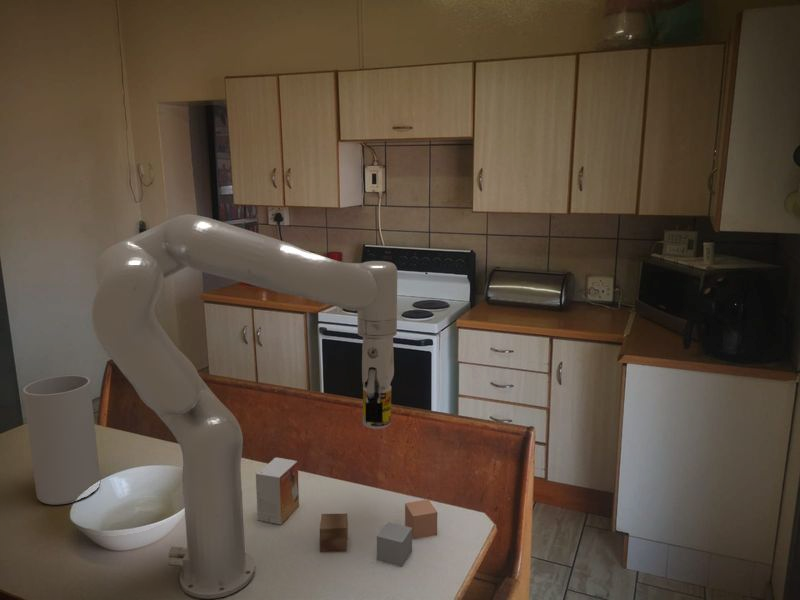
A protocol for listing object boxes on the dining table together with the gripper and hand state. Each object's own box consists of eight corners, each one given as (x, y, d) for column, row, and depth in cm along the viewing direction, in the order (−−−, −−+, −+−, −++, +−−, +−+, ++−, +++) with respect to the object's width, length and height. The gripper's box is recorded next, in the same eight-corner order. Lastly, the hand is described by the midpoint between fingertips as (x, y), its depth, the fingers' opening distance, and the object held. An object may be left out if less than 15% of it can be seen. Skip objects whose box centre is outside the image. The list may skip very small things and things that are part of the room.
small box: (281, 525, 122) (279, 477, 120) (257, 520, 124) (254, 473, 122) (300, 505, 130) (298, 460, 127) (277, 501, 131) (275, 456, 129)
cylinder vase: (101, 498, 132) (89, 389, 127) (35, 512, 127) (20, 399, 122) (100, 473, 143) (89, 372, 138) (39, 485, 138) (25, 380, 133)
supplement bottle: (371, 432, 116) (372, 381, 114) (357, 422, 120) (357, 373, 118) (396, 426, 119) (397, 376, 117) (381, 417, 123) (381, 368, 121)
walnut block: (320, 552, 114) (319, 528, 113) (322, 537, 119) (321, 513, 118) (346, 552, 114) (346, 528, 113) (347, 536, 119) (347, 513, 118)
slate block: (376, 560, 111) (376, 536, 110) (387, 545, 116) (387, 522, 115) (401, 567, 110) (402, 542, 109) (412, 551, 114) (412, 527, 113)
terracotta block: (412, 539, 118) (413, 516, 117) (404, 525, 123) (405, 503, 122) (437, 535, 119) (437, 512, 118) (428, 521, 124) (428, 499, 123)
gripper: (390, 338, 107) (389, 434, 110) (402, 317, 124) (401, 401, 127) (348, 336, 108) (348, 432, 111) (366, 315, 125) (366, 398, 128)
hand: (376, 414), depth 119 cm, fingers closed on supplement bottle, 5 cm apart
